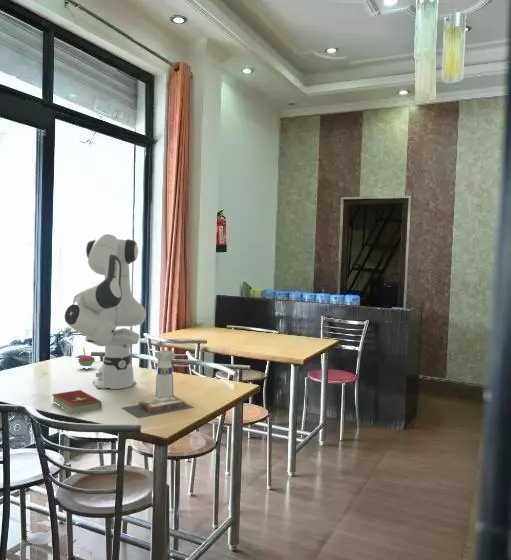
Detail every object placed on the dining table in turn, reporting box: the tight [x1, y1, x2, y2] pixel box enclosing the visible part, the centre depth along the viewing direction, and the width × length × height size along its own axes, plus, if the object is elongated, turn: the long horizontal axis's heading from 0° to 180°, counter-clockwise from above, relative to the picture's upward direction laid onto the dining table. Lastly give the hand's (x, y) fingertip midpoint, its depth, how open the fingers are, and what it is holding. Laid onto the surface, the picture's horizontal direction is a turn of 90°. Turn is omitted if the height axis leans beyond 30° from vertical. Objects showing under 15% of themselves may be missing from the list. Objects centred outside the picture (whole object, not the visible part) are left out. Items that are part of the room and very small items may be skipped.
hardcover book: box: [51, 389, 102, 415], centre depth 194 cm, size 12×21×4 cm, turn 41°
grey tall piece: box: [155, 340, 176, 399], centre depth 211 cm, size 8×9×25 cm
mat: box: [121, 403, 195, 419], centre depth 192 cm, size 16×24×1 cm, turn 128°
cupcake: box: [78, 346, 96, 367], centre depth 264 cm, size 9×8×12 cm
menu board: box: [138, 395, 185, 413], centre depth 194 cm, size 10×2×15 cm
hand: (128, 345), depth 190 cm, fingers closed
